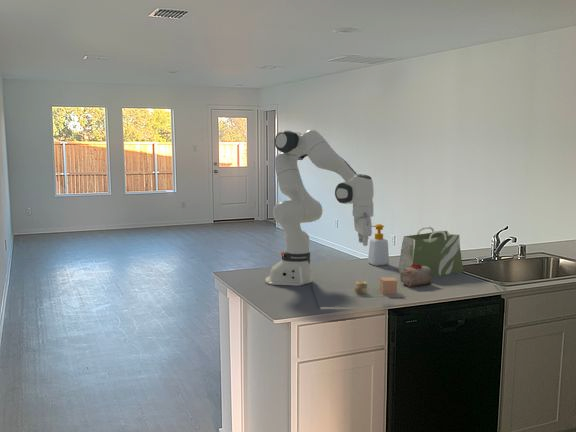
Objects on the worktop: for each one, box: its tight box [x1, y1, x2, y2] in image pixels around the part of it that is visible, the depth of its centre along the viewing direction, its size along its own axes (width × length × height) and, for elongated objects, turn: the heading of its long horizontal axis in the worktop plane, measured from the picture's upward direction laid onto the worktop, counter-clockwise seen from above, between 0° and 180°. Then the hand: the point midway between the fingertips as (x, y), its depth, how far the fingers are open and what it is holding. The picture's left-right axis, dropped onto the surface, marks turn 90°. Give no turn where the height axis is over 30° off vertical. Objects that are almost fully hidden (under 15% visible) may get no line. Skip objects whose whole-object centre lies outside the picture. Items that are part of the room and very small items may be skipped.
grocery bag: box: [397, 226, 465, 277], centre depth 285 cm, size 32×14×23 cm, turn 112°
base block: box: [379, 276, 398, 294], centre depth 241 cm, size 6×6×6 cm
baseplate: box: [344, 287, 407, 298], centre depth 241 cm, size 24×14×1 cm, turn 93°
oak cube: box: [354, 280, 368, 294], centre depth 241 cm, size 4×4×4 cm
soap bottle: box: [367, 223, 390, 267], centre depth 304 cm, size 10×14×22 cm
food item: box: [399, 263, 432, 288], centre depth 260 cm, size 14×8×10 cm, turn 114°
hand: (363, 244), depth 240 cm, fingers open, 8 cm apart
